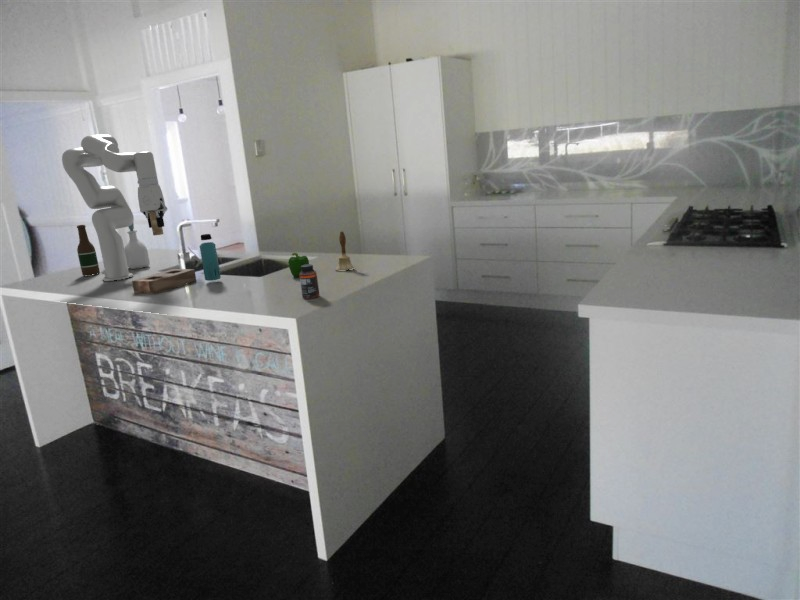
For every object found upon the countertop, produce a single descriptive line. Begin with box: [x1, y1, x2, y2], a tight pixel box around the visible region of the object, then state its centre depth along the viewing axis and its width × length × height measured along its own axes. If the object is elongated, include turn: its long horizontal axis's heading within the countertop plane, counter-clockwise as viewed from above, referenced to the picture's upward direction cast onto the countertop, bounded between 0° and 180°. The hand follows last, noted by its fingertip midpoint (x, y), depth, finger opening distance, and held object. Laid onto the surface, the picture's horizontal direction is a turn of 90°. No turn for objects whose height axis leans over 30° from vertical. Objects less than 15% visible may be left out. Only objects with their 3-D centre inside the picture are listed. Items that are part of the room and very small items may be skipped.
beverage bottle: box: [199, 233, 221, 282], centre depth 246 cm, size 6×7×20 cm
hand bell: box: [335, 231, 355, 271], centre depth 250 cm, size 8×8×16 cm
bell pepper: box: [288, 252, 310, 278], centre depth 246 cm, size 8×8×10 cm
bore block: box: [131, 268, 197, 295], centre depth 247 cm, size 12×22×5 cm, turn 156°
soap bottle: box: [124, 223, 150, 270], centre depth 297 cm, size 10×10×23 cm
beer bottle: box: [76, 224, 101, 276], centre depth 288 cm, size 8×8×24 cm
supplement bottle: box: [299, 263, 320, 300], centre depth 208 cm, size 6×6×11 cm
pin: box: [149, 208, 164, 236], centre depth 251 cm, size 4×4×12 cm
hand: (156, 226), depth 252 cm, fingers closed on pin, 4 cm apart
